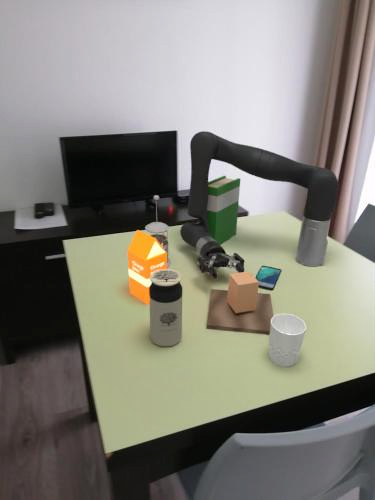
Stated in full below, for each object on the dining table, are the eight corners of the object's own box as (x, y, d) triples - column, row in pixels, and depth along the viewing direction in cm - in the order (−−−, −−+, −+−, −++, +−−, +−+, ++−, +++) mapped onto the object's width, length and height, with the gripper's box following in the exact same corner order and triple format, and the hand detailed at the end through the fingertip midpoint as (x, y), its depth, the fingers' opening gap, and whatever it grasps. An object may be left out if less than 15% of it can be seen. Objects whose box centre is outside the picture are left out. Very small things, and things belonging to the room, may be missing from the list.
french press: (138, 266, 126) (135, 197, 115) (153, 252, 136) (152, 188, 125) (164, 272, 123) (163, 201, 112) (177, 257, 133) (178, 191, 122)
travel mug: (152, 326, 97) (150, 267, 89) (182, 327, 96) (183, 268, 89) (148, 346, 89) (146, 284, 82) (180, 348, 89) (181, 285, 81)
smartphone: (251, 285, 116) (261, 264, 129) (250, 287, 116) (261, 266, 129) (273, 290, 114) (282, 269, 126) (272, 292, 114) (281, 271, 126)
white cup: (262, 346, 90) (266, 313, 86) (292, 345, 91) (298, 312, 87) (271, 369, 83) (276, 335, 79) (304, 368, 84) (311, 334, 80)
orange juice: (149, 283, 116) (147, 226, 107) (167, 295, 111) (167, 235, 102) (129, 292, 111) (125, 233, 102) (147, 305, 106) (145, 242, 97)
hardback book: (220, 230, 157) (224, 175, 147) (236, 234, 153) (240, 178, 143) (198, 244, 144) (200, 185, 134) (214, 248, 140) (217, 188, 130)
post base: (269, 297, 111) (274, 268, 106) (275, 335, 94) (280, 302, 90) (211, 292, 112) (212, 263, 108) (206, 328, 96) (208, 296, 92)
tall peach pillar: (245, 298, 106) (248, 271, 102) (255, 309, 101) (258, 281, 97) (227, 301, 104) (229, 274, 100) (235, 313, 99) (238, 285, 95)
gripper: (190, 243, 118) (207, 266, 104) (230, 238, 122) (252, 260, 108) (189, 263, 121) (206, 288, 107) (228, 258, 125) (250, 281, 111)
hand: (229, 274), depth 108 cm, fingers open, 8 cm apart
